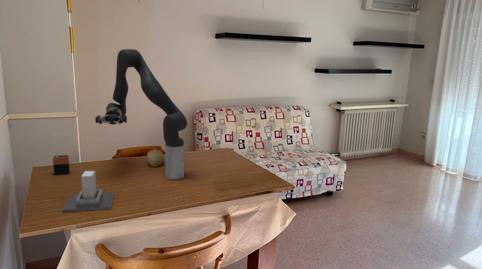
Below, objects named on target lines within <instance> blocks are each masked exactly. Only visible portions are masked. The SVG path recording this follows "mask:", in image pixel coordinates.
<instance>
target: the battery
mask: <svg viewBox="0 0 482 269" xmlns="http://www.w3.org/2000/svg"><path fill="white" fill-rule="evenodd" d="M52 164H53V166H52V167H53V174H54V176H59V175H69V174H70V158H69V155H68V154H67V153H63V154H61V155H59V154H55V155H54V156H53V157H52Z"/></svg>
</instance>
